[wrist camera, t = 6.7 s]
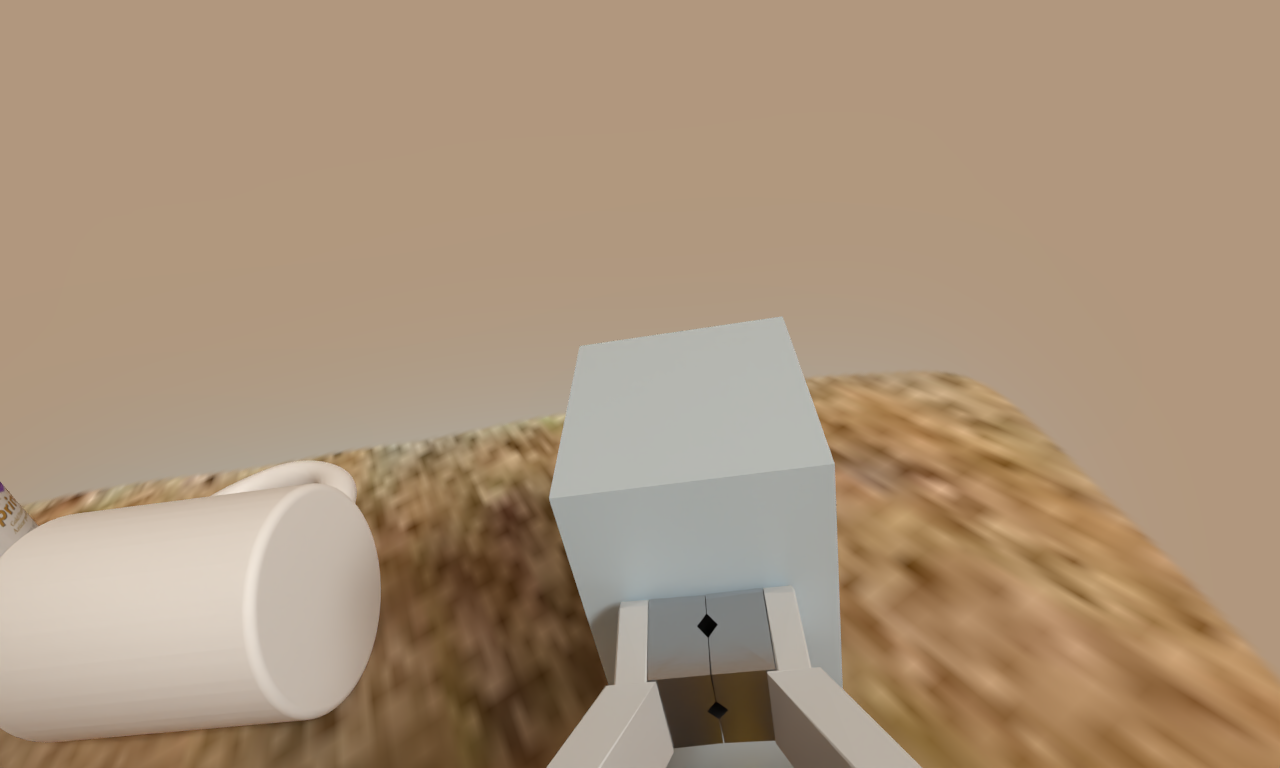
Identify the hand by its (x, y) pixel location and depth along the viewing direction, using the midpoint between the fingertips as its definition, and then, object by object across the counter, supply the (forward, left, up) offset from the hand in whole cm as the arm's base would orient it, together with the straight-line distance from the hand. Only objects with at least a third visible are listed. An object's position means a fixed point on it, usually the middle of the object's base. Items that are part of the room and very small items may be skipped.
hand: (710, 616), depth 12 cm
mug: (-19, +10, -11) cm, 24 cm away
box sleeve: (0, +2, -9) cm, 9 cm away
